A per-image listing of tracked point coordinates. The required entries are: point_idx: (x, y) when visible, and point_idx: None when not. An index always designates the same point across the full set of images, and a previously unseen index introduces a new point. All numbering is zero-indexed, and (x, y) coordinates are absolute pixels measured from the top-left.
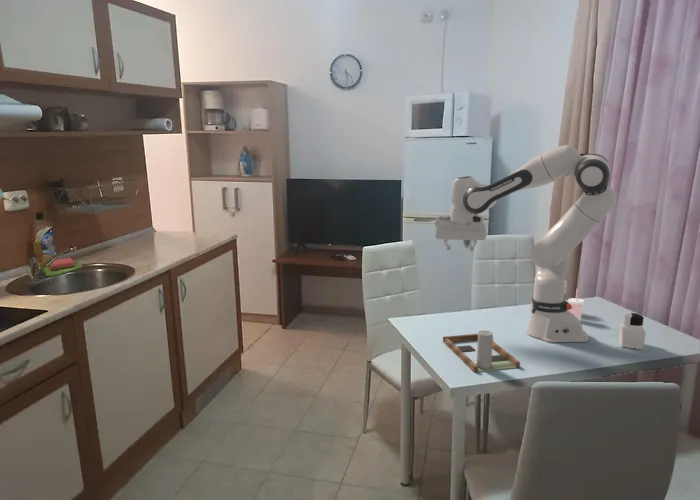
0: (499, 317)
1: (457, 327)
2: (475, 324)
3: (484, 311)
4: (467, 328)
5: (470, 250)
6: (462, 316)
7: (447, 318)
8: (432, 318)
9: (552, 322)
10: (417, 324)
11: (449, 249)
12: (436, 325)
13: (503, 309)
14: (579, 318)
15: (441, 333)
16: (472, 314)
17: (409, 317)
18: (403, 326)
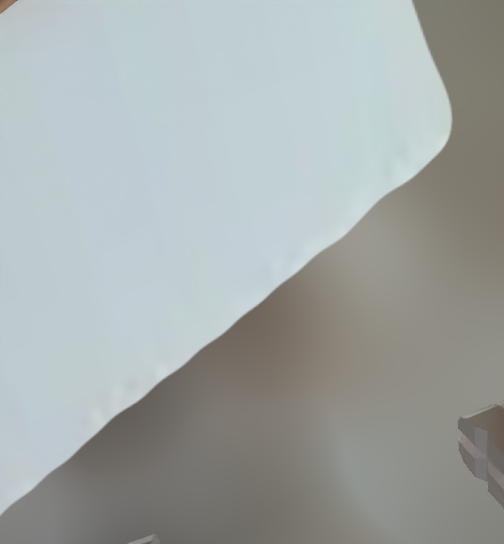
0: (21, 354)
1: (167, 135)
2: (97, 214)
3: (110, 394)
4: (117, 140)
5: (147, 537)
6: (184, 292)
7: (240, 237)
8: (302, 209)
9: None
10: (349, 100)
11: (477, 416)
12: (266, 122)
13: (40, 454)
14: None
15: (219, 12)
16: (149, 335)
17: (396, 179)
18: (404, 45)
